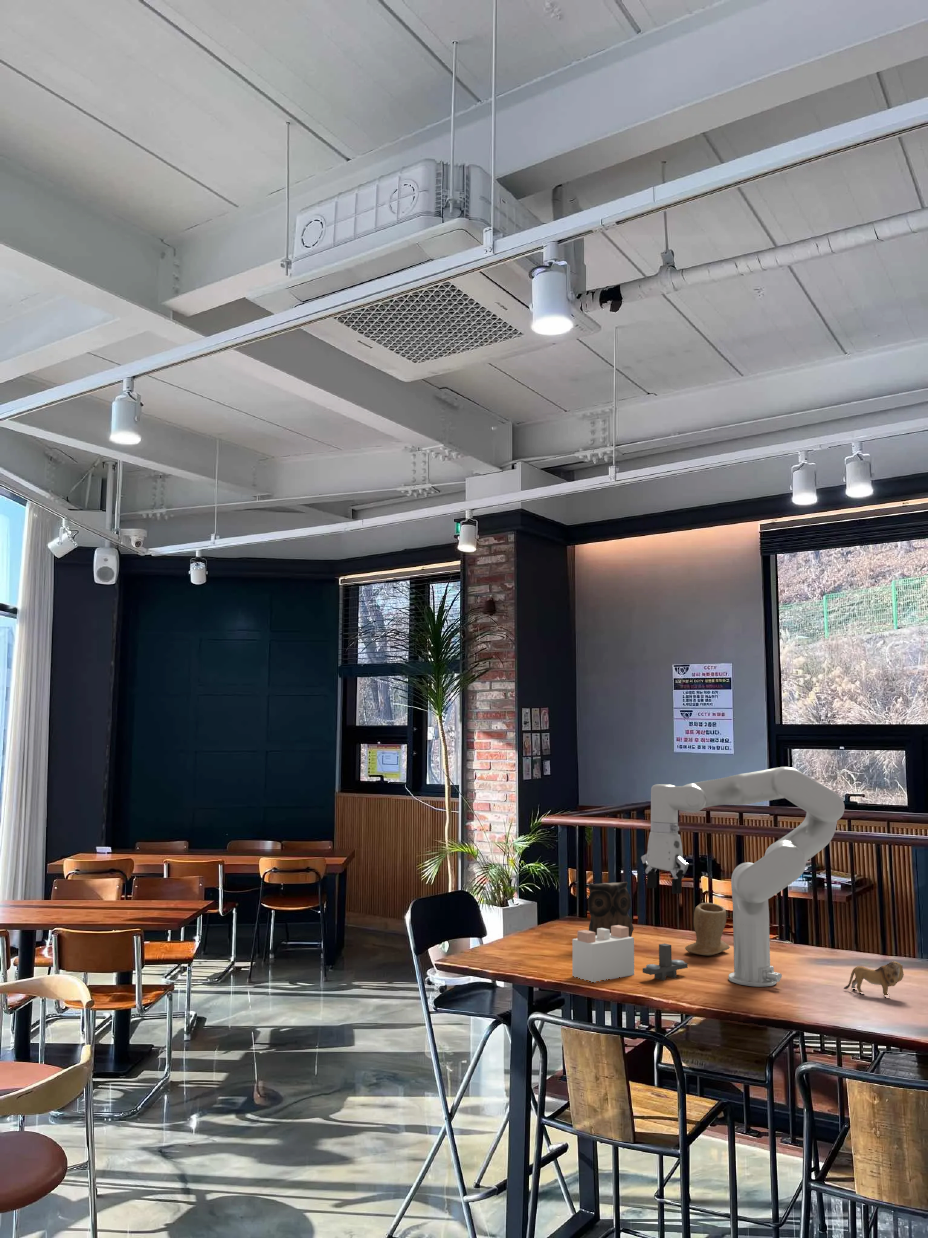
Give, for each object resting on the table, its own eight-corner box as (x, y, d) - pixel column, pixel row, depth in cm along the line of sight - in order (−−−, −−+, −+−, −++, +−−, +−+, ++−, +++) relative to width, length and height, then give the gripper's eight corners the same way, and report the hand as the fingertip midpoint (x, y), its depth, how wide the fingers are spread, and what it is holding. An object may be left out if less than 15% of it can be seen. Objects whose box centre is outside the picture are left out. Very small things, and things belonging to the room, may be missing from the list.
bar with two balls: (688, 975, 262) (688, 943, 263) (651, 983, 253) (651, 949, 254) (678, 972, 265) (678, 940, 266) (641, 980, 256) (641, 946, 257)
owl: (635, 945, 299) (634, 881, 302) (616, 952, 289) (616, 886, 292) (599, 940, 307) (599, 877, 309) (580, 946, 297) (580, 882, 299)
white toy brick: (634, 975, 262) (633, 928, 263) (592, 982, 252) (592, 934, 254) (613, 969, 268) (613, 924, 270) (572, 976, 259) (572, 929, 260)
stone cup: (714, 960, 280) (713, 909, 282) (680, 954, 289) (679, 903, 291) (740, 953, 291) (739, 903, 293) (706, 947, 299) (705, 898, 301)
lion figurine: (905, 996, 243) (903, 960, 245) (904, 1001, 239) (902, 964, 240) (844, 988, 250) (843, 954, 251) (842, 993, 246) (841, 957, 247)
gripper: (696, 831, 260) (696, 894, 258) (652, 825, 274) (651, 885, 272) (677, 832, 256) (677, 896, 254) (633, 826, 270) (632, 887, 268)
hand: (664, 890), depth 263 cm, fingers open, 9 cm apart
